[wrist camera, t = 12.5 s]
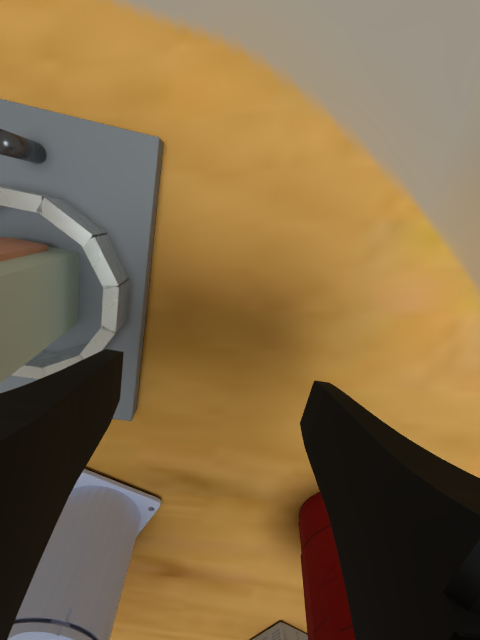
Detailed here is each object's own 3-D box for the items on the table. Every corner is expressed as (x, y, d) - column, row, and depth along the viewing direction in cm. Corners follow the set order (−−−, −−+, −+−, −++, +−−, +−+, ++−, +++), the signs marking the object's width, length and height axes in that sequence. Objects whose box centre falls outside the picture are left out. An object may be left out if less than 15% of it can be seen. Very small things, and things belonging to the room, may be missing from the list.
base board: (136, 410, 22) (131, 421, 21) (-39, 388, 21) (-54, 398, 20) (163, 142, 16) (159, 137, 15) (-79, 84, 15) (-103, 74, 14)
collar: (122, 372, 20) (109, 393, 17) (-46, 348, 18) (-85, 368, 16) (138, 165, 16) (124, 157, 13) (-77, 116, 14) (-135, 97, 12)
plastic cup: (409, 478, 26) (548, 677, 15) (356, 556, 30) (437, 765, 19) (298, 453, 25) (363, 657, 13) (255, 539, 28) (278, 759, 17)
